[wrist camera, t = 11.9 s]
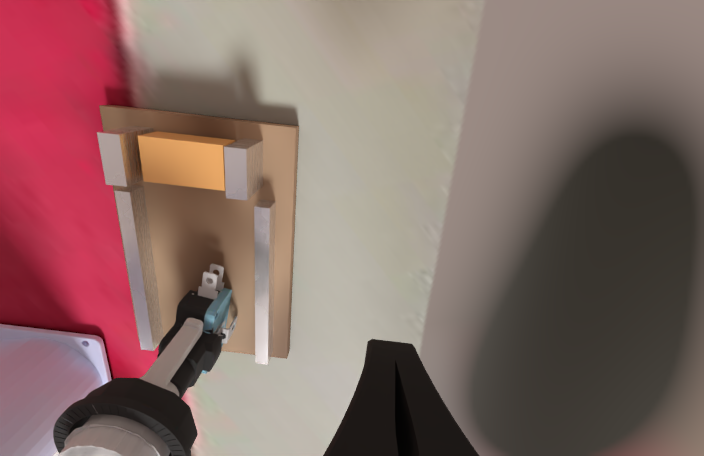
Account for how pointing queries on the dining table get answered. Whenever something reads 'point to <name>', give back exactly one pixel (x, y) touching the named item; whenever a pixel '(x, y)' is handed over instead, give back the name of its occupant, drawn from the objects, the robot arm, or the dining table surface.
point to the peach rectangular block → (183, 159)
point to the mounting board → (219, 223)
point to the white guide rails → (131, 204)
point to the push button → (153, 387)
